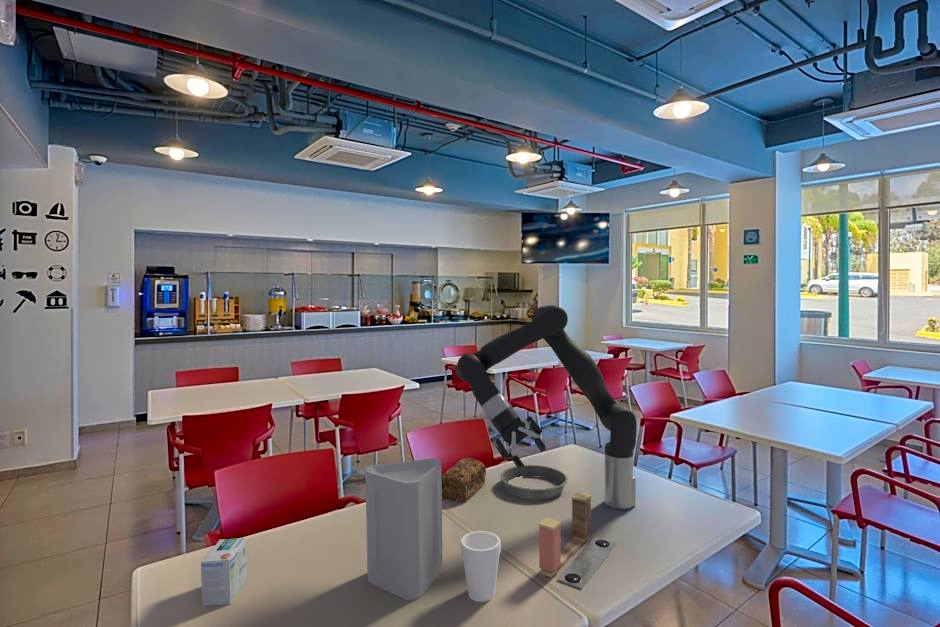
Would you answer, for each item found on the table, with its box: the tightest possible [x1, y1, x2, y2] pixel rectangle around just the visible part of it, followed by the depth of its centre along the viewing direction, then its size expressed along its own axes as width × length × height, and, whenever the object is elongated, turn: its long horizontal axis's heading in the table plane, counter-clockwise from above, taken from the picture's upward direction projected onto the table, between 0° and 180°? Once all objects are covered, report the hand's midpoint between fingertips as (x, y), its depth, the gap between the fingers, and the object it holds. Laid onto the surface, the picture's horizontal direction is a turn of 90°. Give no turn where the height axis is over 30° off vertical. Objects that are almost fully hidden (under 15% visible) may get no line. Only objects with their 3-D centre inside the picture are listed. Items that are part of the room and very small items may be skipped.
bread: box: [441, 457, 487, 503], centre depth 177 cm, size 19×11×10 cm, turn 155°
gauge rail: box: [540, 491, 592, 579], centre depth 134 cm, size 25×4×13 cm, turn 145°
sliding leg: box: [538, 517, 562, 573], centre depth 126 cm, size 4×4×12 cm
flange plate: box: [556, 537, 617, 589], centre depth 131 cm, size 25×6×1 cm, turn 145°
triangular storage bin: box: [364, 457, 444, 601], centre depth 122 cm, size 19×15×28 cm
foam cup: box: [460, 530, 502, 603], centre depth 117 cm, size 10×9×13 cm
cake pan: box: [499, 464, 569, 501], centre depth 180 cm, size 25×25×4 cm
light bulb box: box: [200, 537, 248, 607], centre depth 119 cm, size 11×7×11 cm, turn 5°
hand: (533, 458), depth 141 cm, fingers open, 8 cm apart
